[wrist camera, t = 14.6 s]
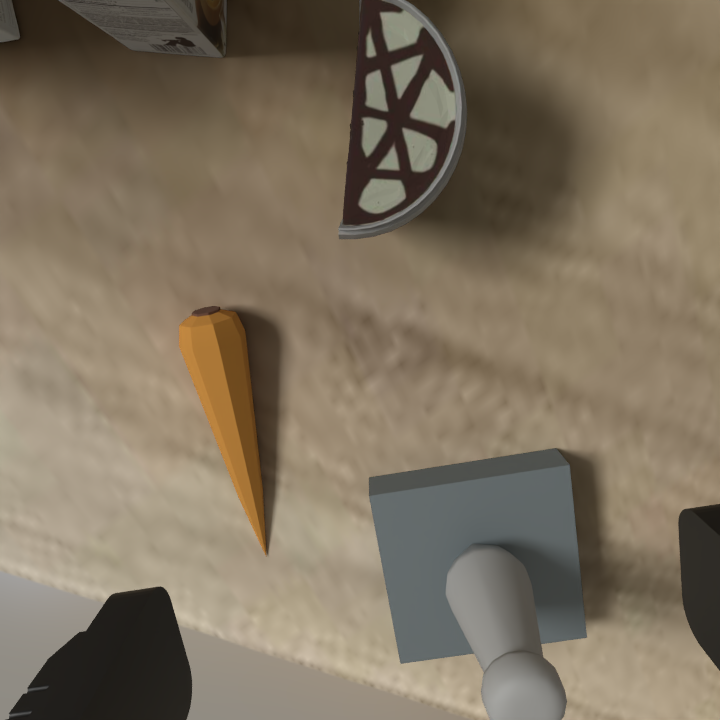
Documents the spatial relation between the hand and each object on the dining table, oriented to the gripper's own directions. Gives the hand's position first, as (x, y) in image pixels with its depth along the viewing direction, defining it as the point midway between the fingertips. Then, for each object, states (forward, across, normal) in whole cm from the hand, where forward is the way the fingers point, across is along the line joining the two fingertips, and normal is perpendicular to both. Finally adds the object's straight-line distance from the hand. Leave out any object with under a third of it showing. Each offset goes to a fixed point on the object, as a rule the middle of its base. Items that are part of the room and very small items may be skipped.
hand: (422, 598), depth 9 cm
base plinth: (+33, -4, +20) cm, 39 cm away
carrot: (+34, +12, +8) cm, 37 cm away
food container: (+33, -3, -10) cm, 35 cm away
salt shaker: (+30, -4, +20) cm, 36 cm away
